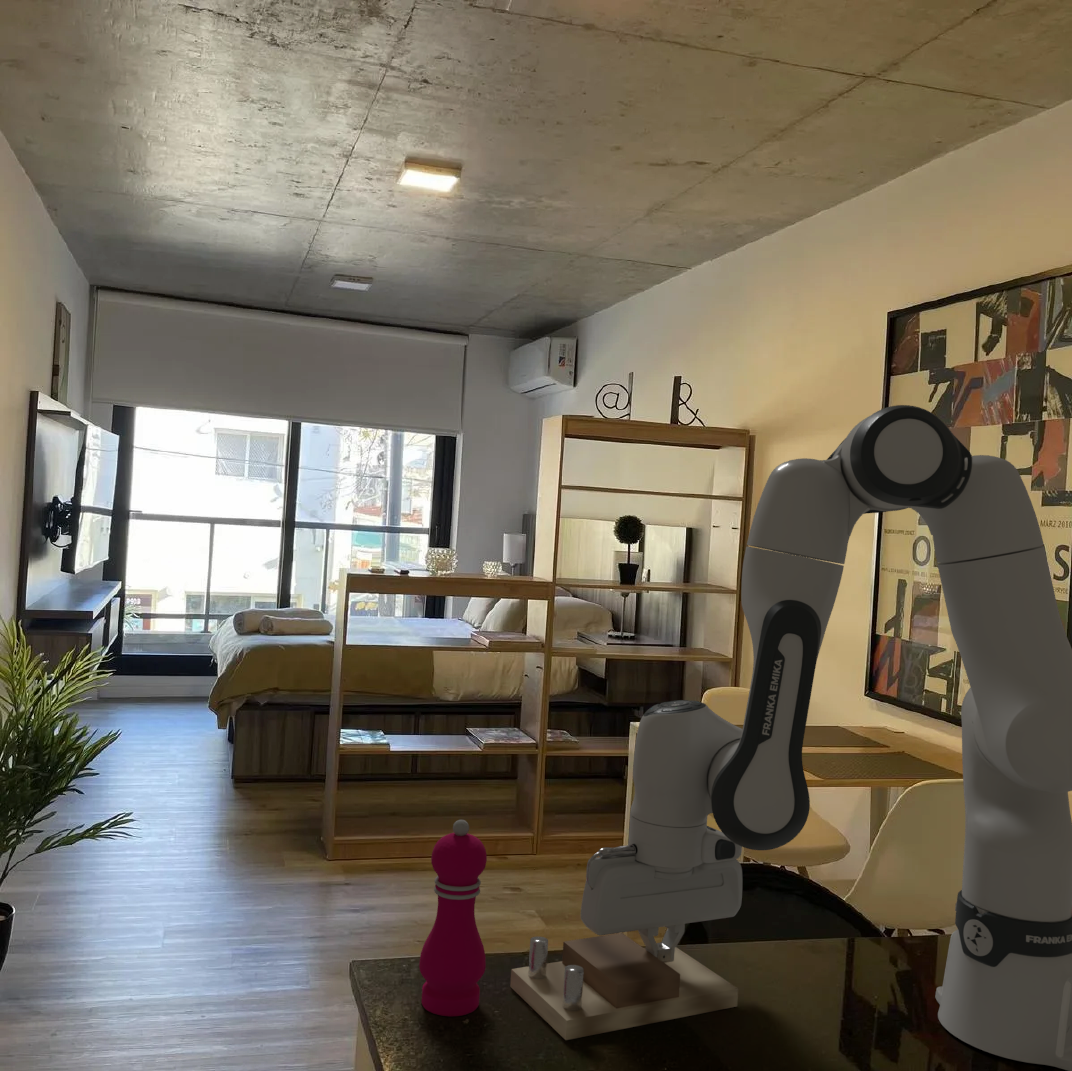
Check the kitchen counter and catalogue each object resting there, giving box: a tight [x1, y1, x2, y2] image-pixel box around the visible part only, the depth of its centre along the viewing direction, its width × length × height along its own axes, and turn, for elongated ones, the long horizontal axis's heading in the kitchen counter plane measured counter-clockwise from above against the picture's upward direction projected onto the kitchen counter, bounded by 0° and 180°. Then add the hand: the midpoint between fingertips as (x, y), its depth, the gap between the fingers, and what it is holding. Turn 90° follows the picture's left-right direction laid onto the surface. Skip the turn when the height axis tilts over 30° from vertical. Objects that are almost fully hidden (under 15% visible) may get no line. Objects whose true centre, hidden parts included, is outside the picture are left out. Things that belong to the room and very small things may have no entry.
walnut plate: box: [561, 932, 680, 1009], centre depth 115 cm, size 8×12×2 cm, turn 27°
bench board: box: [509, 936, 739, 1041], centre depth 115 cm, size 22×13×6 cm, turn 117°
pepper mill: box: [418, 819, 488, 1017], centre depth 111 cm, size 7×7×20 cm
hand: (659, 961), depth 118 cm, fingers closed
